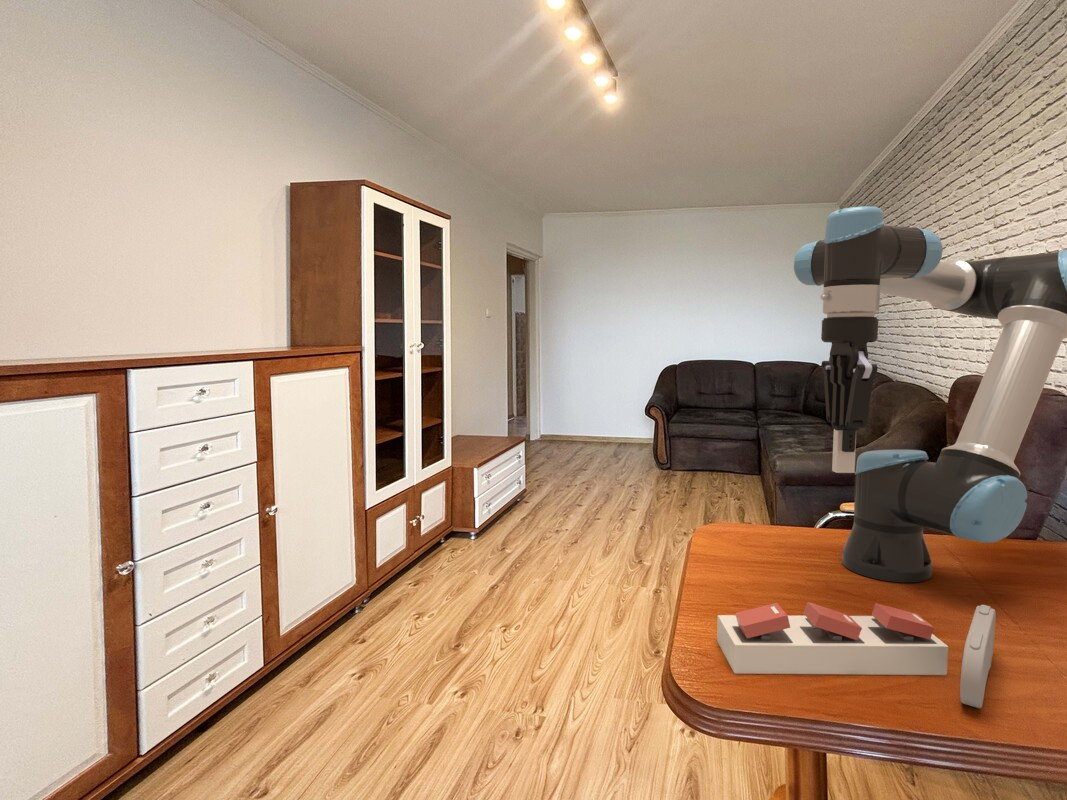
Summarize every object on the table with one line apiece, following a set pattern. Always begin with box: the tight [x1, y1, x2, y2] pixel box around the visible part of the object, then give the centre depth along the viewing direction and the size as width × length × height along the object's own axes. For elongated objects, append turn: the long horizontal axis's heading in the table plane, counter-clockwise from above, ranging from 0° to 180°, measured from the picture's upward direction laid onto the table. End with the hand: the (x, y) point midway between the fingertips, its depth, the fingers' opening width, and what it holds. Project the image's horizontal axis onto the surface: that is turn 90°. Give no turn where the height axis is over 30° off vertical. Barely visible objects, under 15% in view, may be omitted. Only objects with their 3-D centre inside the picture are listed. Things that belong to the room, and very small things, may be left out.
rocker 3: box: [871, 602, 935, 639], centre depth 86 cm, size 6×4×2 cm, turn 90°
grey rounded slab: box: [959, 604, 997, 709], centre depth 81 cm, size 20×2×8 cm, turn 140°
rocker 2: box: [802, 601, 862, 640], centre depth 86 cm, size 6×4×2 cm, turn 90°
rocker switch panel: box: [716, 614, 949, 676], centre depth 88 cm, size 28×9×5 cm, turn 88°
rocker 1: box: [734, 602, 790, 638], centre depth 86 cm, size 6×4×2 cm, turn 87°
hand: (843, 471), depth 95 cm, fingers closed
